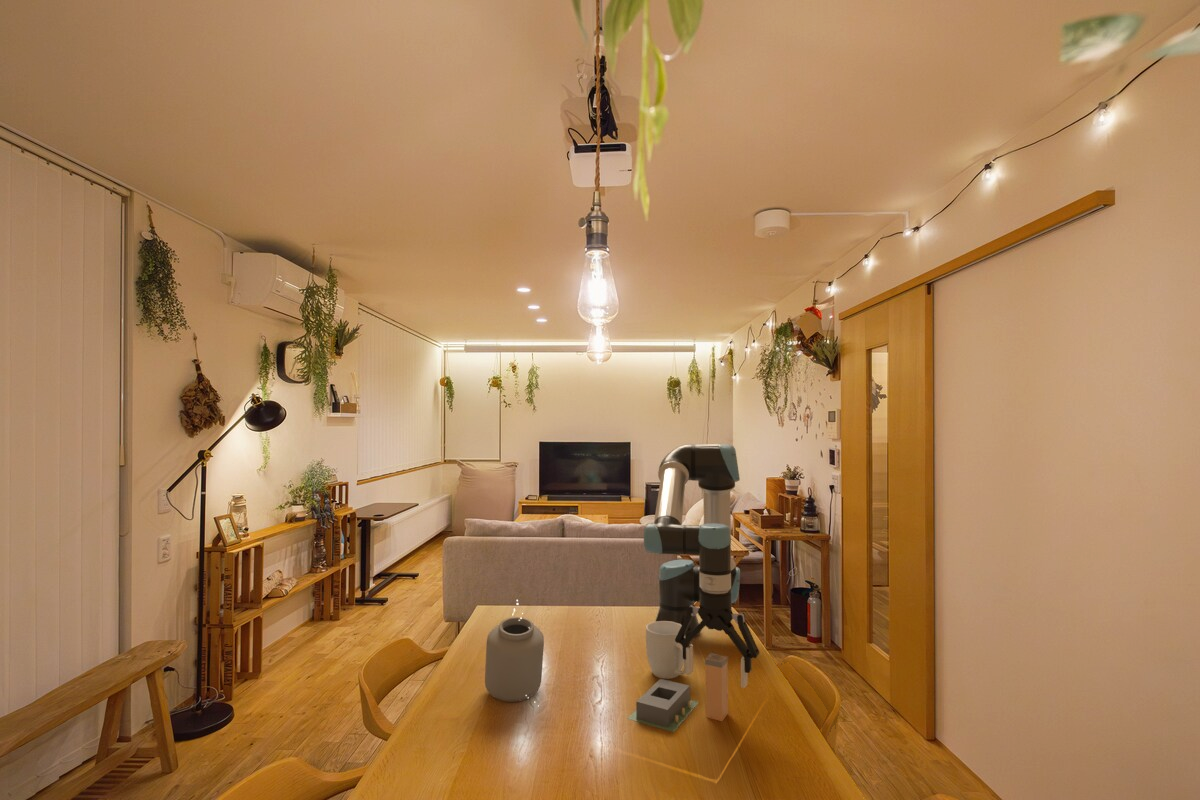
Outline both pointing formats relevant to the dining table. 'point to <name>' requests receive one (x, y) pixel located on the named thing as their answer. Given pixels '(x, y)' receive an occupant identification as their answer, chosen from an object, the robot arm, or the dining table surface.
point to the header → (664, 705)
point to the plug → (716, 687)
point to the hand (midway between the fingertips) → (716, 679)
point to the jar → (514, 659)
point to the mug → (664, 649)
